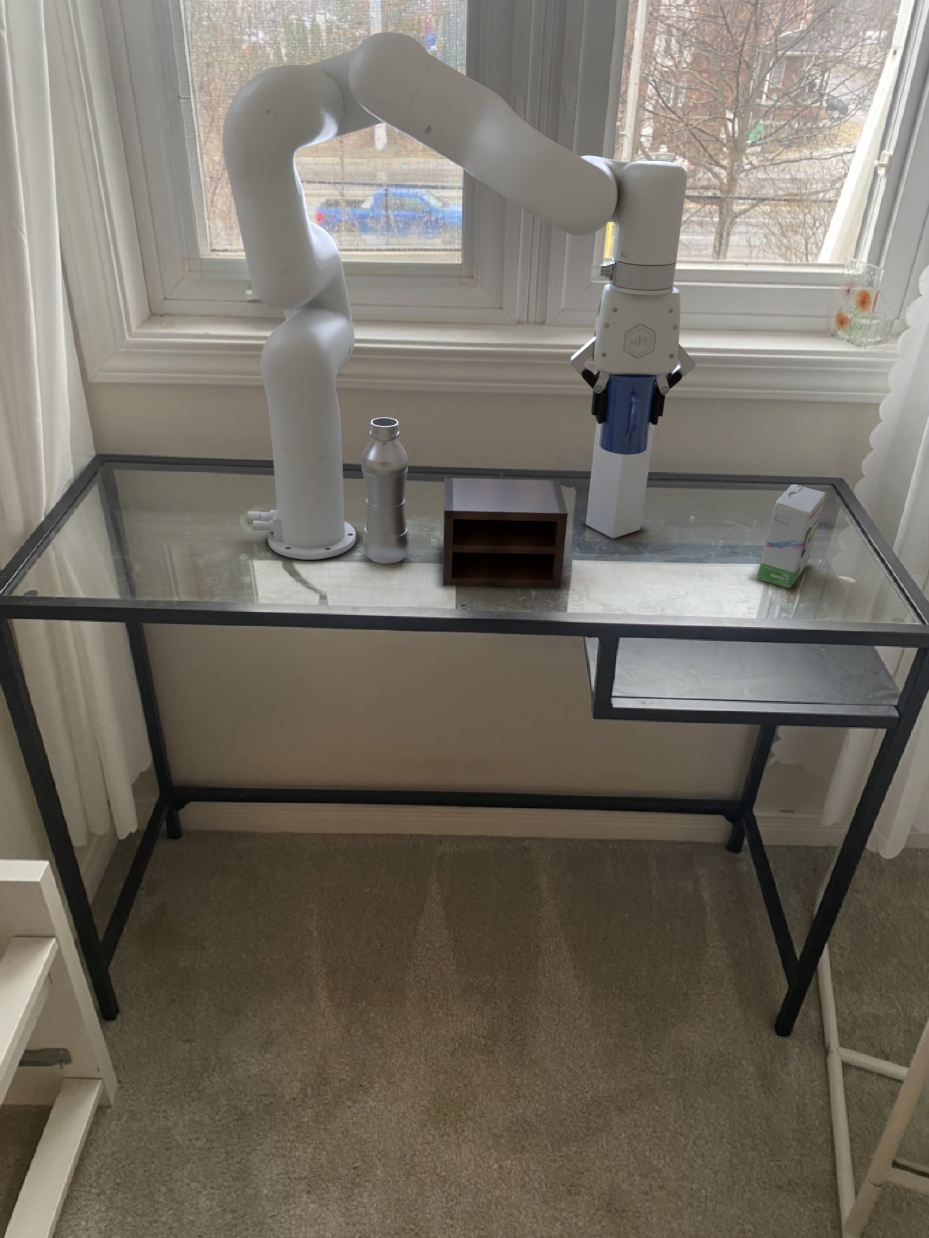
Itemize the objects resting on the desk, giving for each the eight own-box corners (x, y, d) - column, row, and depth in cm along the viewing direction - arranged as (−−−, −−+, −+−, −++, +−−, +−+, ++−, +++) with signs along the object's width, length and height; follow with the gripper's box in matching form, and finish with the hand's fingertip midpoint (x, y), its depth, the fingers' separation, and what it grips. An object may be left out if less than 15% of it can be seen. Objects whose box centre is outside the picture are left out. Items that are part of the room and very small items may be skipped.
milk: (612, 539, 144) (629, 395, 132) (584, 524, 148) (599, 384, 136) (641, 529, 147) (660, 388, 136) (613, 515, 151) (629, 377, 140)
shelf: (442, 585, 130) (444, 510, 124) (443, 548, 139) (444, 477, 134) (560, 587, 130) (567, 513, 125) (553, 551, 140) (559, 480, 134)
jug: (604, 462, 121) (612, 384, 116) (593, 434, 130) (600, 360, 124) (656, 463, 121) (666, 385, 116) (642, 435, 130) (651, 361, 125)
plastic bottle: (374, 573, 132) (371, 433, 122) (356, 552, 137) (351, 417, 127) (417, 564, 135) (417, 427, 125) (397, 544, 140) (396, 411, 130)
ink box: (773, 557, 140) (789, 481, 134) (808, 566, 138) (827, 490, 132) (755, 580, 134) (771, 501, 128) (792, 590, 132) (810, 511, 126)
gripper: (573, 281, 111) (562, 429, 121) (722, 284, 112) (699, 432, 121) (566, 268, 118) (556, 410, 127) (707, 271, 118) (686, 412, 128)
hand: (626, 419), depth 124 cm, fingers closed on jug, 6 cm apart
